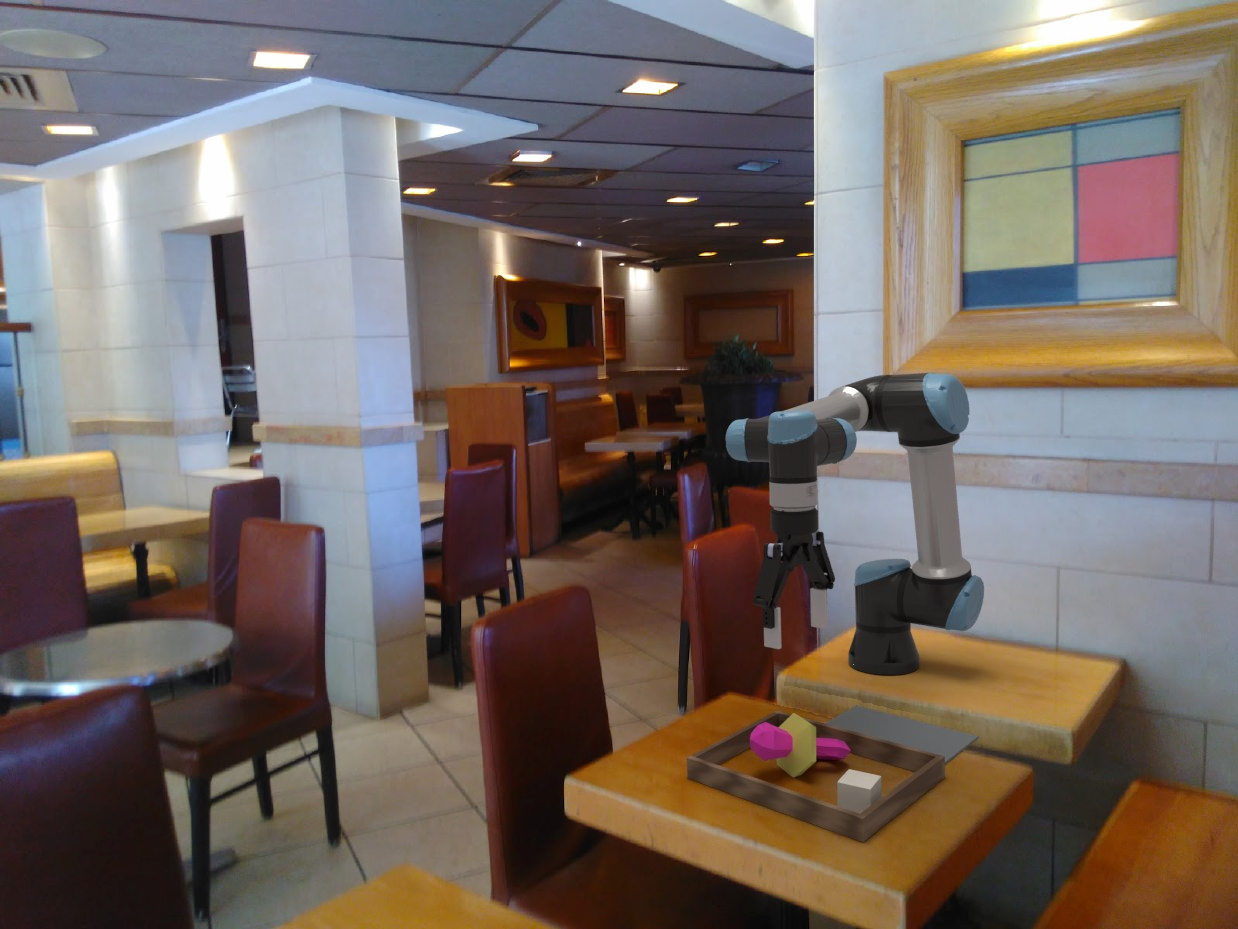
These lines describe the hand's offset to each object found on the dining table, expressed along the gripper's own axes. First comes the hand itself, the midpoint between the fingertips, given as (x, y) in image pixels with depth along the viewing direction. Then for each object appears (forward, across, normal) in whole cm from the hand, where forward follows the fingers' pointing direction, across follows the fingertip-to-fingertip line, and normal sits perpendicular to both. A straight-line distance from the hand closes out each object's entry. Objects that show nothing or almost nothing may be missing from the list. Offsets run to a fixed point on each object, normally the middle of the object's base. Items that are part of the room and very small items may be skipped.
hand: (796, 637), depth 146 cm
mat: (+23, +22, -5) cm, 32 cm away
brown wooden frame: (+23, 0, -3) cm, 23 cm away
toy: (+23, +1, +1) cm, 23 cm away
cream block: (+23, -5, -14) cm, 27 cm away
